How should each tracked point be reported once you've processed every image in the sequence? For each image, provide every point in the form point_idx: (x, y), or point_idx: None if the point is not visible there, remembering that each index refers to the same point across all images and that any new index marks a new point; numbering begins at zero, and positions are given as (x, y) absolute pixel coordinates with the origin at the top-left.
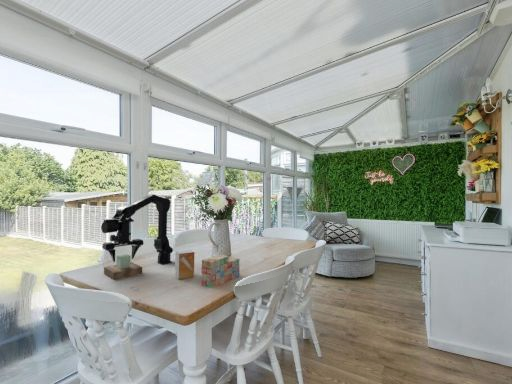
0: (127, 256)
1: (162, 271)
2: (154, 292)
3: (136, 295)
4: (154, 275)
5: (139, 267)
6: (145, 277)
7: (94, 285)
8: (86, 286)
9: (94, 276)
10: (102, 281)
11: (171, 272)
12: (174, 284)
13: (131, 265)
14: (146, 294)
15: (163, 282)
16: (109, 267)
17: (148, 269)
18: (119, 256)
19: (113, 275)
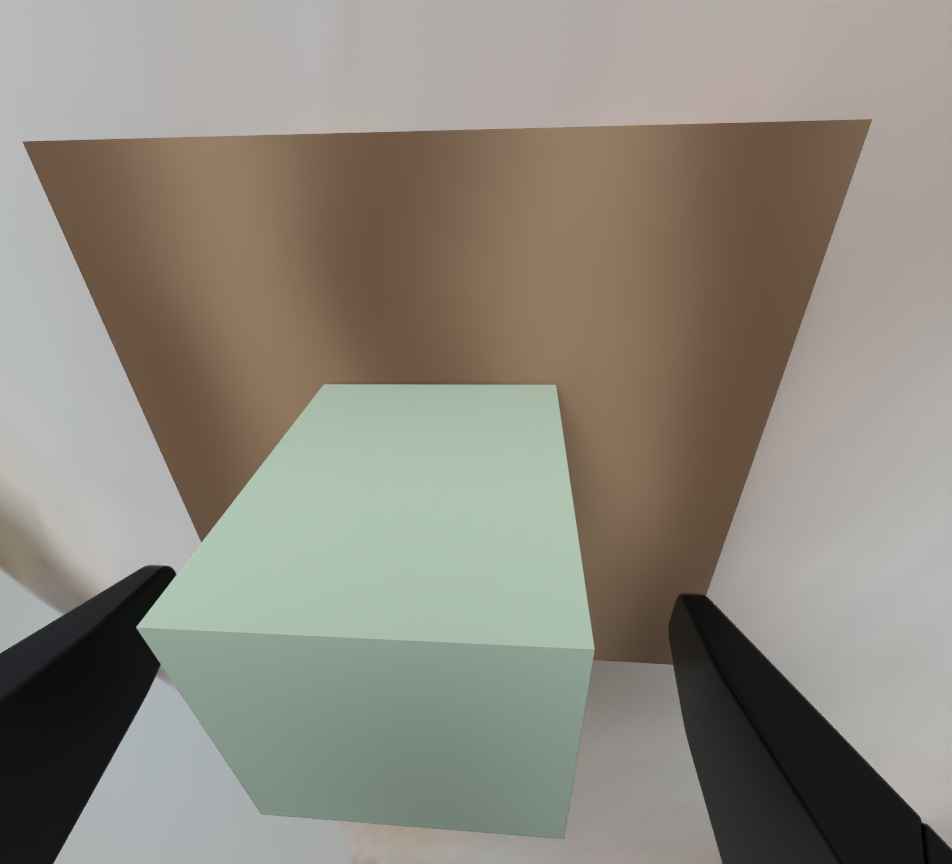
0: (464, 823)
1: (879, 653)
2: (469, 856)
3: (371, 835)
4: None
5: (640, 652)
6: (591, 683)
7: (97, 577)
8: (20, 555)
9: (3, 210)
10: (165, 523)
11: (891, 725)
12: (636, 857)
13: (623, 477)
14: (421, 850)
15: (614, 813)
16: (173, 300)
17: (876, 470)
18: (238, 743)
19: None
